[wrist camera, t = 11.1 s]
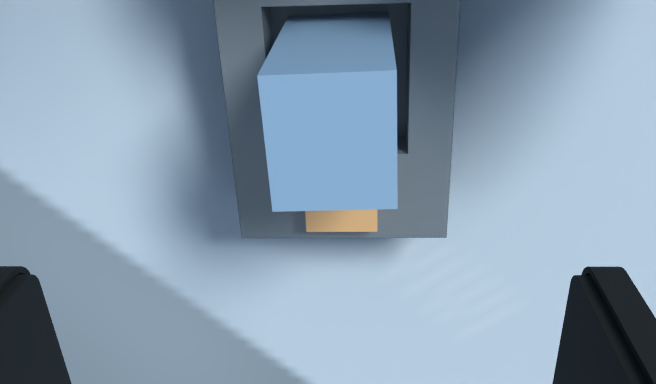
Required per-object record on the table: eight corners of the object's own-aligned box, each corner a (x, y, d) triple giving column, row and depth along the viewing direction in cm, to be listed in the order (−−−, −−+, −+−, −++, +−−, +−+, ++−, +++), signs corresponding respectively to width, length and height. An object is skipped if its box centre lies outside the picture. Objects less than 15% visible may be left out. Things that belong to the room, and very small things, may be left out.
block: (288, 15, 25) (257, 75, 18) (388, 11, 25) (396, 70, 18) (297, 121, 27) (272, 211, 20) (389, 118, 27) (397, 209, 20)
